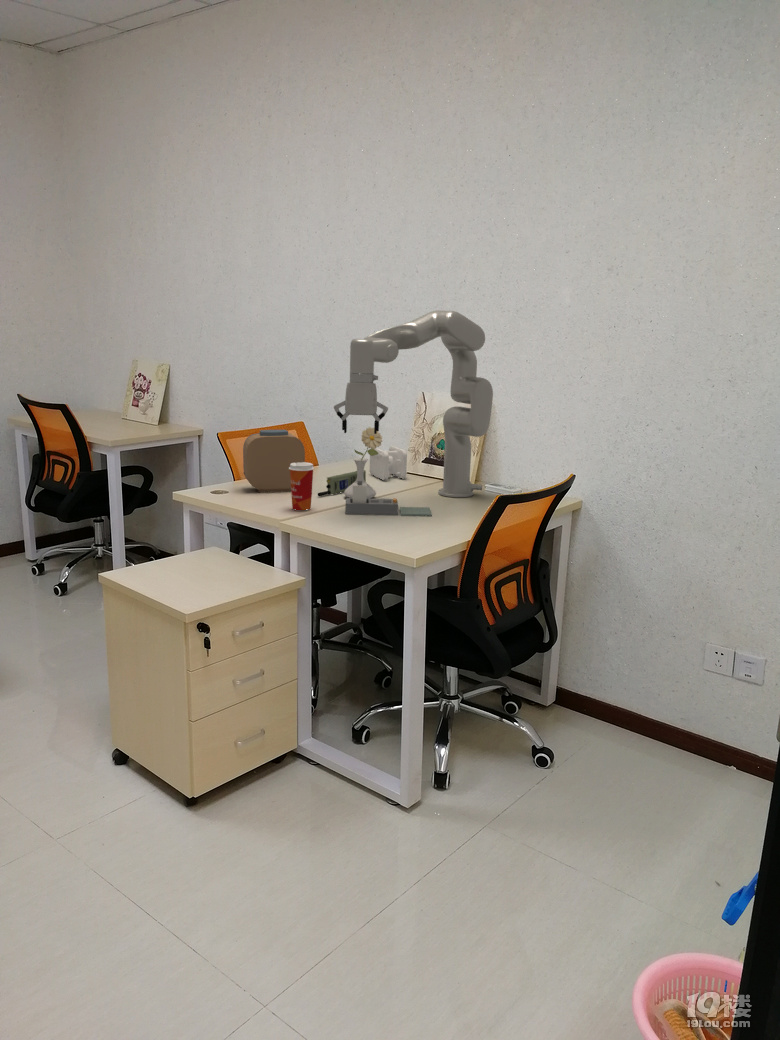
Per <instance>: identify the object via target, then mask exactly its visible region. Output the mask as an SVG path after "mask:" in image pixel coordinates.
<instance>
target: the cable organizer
mask: <svg viewBox="0 0 780 1040" xmlns="http://www.w3.org/2000/svg"><path fill="white" fill-rule="evenodd" d="M370 449H372V448H370ZM375 450H376V451H377V452H378V453H379V454H377V455H374V456H371V455H369V473H370V474H371V476H373V475H374V476H376V477H375V478H378V479H379V478H380V479H382V480H383V481H387V480H388V479H389V478H390V475H391V474H393V475H395V476H394V477H397V478H398V477H399V478H398V479H400V478H403V479H405V478H406V477H407V466H408V465H407V464H408V454H407V451H406V450H405V449H403V448H400V447H398V446H395V445H391V446H389V448H388V450H384V449H381V448H379V447H376V448H375ZM393 475H392V476H393ZM374 476H373V477H374ZM380 479H379V480H380ZM382 480H381V481H382Z"/></svg>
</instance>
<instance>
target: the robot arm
mask: <svg viewBox="0 0 780 1040" xmlns="http://www.w3.org/2000/svg"><path fill="white" fill-rule="evenodd" d="M437 338H440V339H441V342H442V345H444V347H445V348H446V349H447V350H448V352H449V353H450V356H451V359H452V372H451V381H450V397H451V399H452V400H453V401H454V402H456V403H462V404H468V405H470V407H466V406H452V407H450V408H448V409H447V410H446V411H445V412H444V415H443V418H442V424H443V425H442V427H443V431H444V457H443V477H442V478H443V479H442V480H443V483H442V488H440V489H439V490H438V494H439V495H440V496H443V497H448V498H470V497H472V496H473V495H474V491H483V484H478V483H477V484H476V483H471V482H472V481H470V480H471V478H470V477H471V460H472V443H471V439H470V437H476V438H480V437H483V436H484V435H486V433H487V432H488V430H489V427H490V425H491V423H490V422H491V418H492V417H491V416H492V407H493V400H494V399H493V397H494V391H493V386H492V384H491V382H490V381H489V380H488V379H486V378H484V377H481V376H480V377H477V372H478V359H477V356H476V353H475V352H476V351H479V350H481V349H482V348H483V346H484V345H485V343H486V342H485V341H486V335H485V331H484V330H483V328H482V327H481V326H480V325H479V324H477V323H476V322H474V321H473V320H471V319H469V318H468V317H466V316H465V315H463V314H462V313H460V312H457V311H455V310H439V309H438V310H433V311H430V312H427V313H425V314H423V315H422V316H419V317H417V318H414V319H413V320H410V321H408V322H407V323H406V322H405V323H402V324H401V323H400V324H398V325H396V326H392V327H389V328H384V329H382V330H381V329H380V330H378V331H376V332H373V333H372V334H369V335H368V336H366V337H364V338H354V339H352V340H351V341H350V346H349V347H350V348H349V349H350V351H349V353H350V355H349V382H347V383H346V389H345V399H344V400H342V401H341V402H339V403H337V404H335V405H334V406H333V409H334V412H335V413H336V416H338V417H339V419H340V420H341V430H342V431H344V432H343V434H346V433H347V432H348V430H347V429H348V428H347V427H348V426H347V425H348V422H347V421H348V420H347V418H348V417H349V416H372V417H373V418H374V424H373V425H374V427H373V428H374V434H377V431H378V432H379V431H380V421H381V420H383V418H384V417H385V416H386V414H387V412H388V410H389V407H388V406H386V405H384V404H382V403H381V402H379V401H378V393H377V391H378V390H377V385H376V383H375V382H374V381H378V380H379V375H376V374H375V370H374V369H375V366H374V365H375V362H376V363H380V364H381V363H382V364H383V363H384V364H388V363H392V362H394V361H395V360H396V359H397V358H398V355H399V351H400V350H411V349H416V348H419V347H421V346H423V345H425V344H426V343H429V342H431V341H434V340H435V339H437ZM342 407H344V414H343V413H342V412H341V410H340V408H342ZM378 408H380V409H381V410H382V411H381V413H380V414H379V415H378V414H377V412H378V411H377V410H378Z"/></svg>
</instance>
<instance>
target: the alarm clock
mask: <svg viewBox="0 0 780 1040" xmlns="http://www.w3.org/2000/svg"><path fill="white" fill-rule="evenodd" d="M242 449H243V450H242V451H243V452H242V456H243V457H242V459H243V463H242V465H243V467H242V468H243V476H244V477H245V479H246V480H247V482H248V483H249V484H250V485H251V486H252V487H253V488H255V489H256V490H257V491H258V493H281V491H285V492H291V479H290V469H289V467H290V464H291V463H297V462H301V463H302V462H306V458H305V457H306V452H305V451H306V449H305V446H304V443H303V442H302V440H301V439H299V438H298V437H297V436H295V435H294V434H292V433H289V431H288V430H287V429H260V430H259V433H252V434H250V435H249V436H247V437H246V438H245V440H244V442H243V447H242Z"/></svg>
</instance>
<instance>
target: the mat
mask: <svg viewBox="0 0 780 1040" xmlns="http://www.w3.org/2000/svg"><path fill="white" fill-rule="evenodd" d="M399 512H400V516H401V517H432V516H433V514H432V510H431V507H428V506H421V507H420V506H399Z"/></svg>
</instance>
